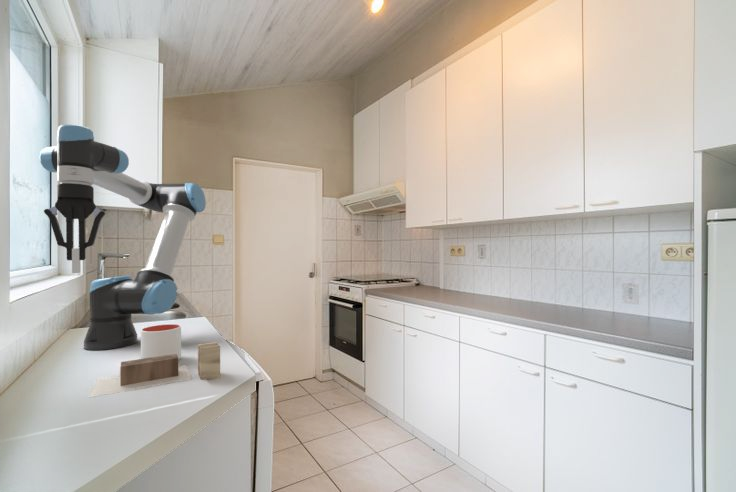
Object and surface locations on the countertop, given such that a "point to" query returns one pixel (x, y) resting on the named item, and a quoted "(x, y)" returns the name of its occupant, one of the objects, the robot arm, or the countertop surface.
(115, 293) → the robot arm
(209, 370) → the beech block
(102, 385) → the board
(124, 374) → the walnut block
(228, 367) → the countertop surface
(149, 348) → the cup
